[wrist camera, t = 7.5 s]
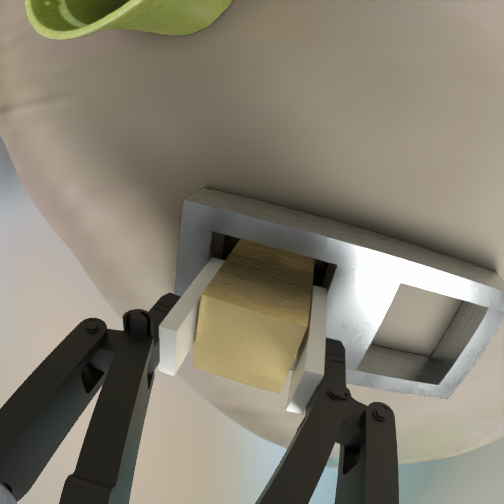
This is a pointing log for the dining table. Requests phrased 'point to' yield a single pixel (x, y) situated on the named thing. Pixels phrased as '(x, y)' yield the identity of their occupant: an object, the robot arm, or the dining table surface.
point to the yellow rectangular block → (254, 315)
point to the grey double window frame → (356, 286)
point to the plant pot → (121, 16)
